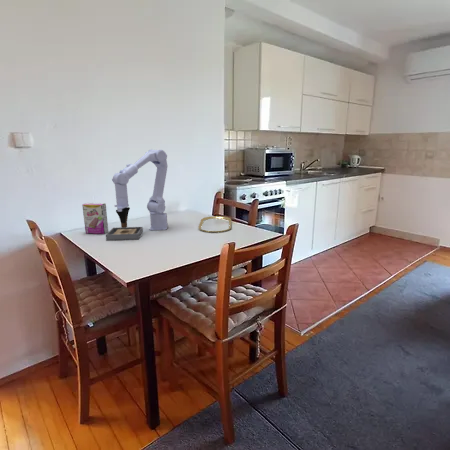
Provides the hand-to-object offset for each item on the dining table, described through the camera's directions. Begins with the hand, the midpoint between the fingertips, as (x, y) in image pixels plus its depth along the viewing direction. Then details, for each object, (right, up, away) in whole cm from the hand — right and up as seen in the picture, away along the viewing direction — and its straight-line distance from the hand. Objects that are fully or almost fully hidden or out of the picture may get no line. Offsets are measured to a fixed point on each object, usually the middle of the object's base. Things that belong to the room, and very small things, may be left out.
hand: (124, 222), depth 171 cm
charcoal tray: (0, -7, +2) cm, 8 cm away
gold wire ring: (+47, -2, +23) cm, 53 cm away
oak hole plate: (0, -7, +2) cm, 8 cm away
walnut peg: (0, -2, +1) cm, 2 cm away
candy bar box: (-18, -6, +9) cm, 20 cm away
